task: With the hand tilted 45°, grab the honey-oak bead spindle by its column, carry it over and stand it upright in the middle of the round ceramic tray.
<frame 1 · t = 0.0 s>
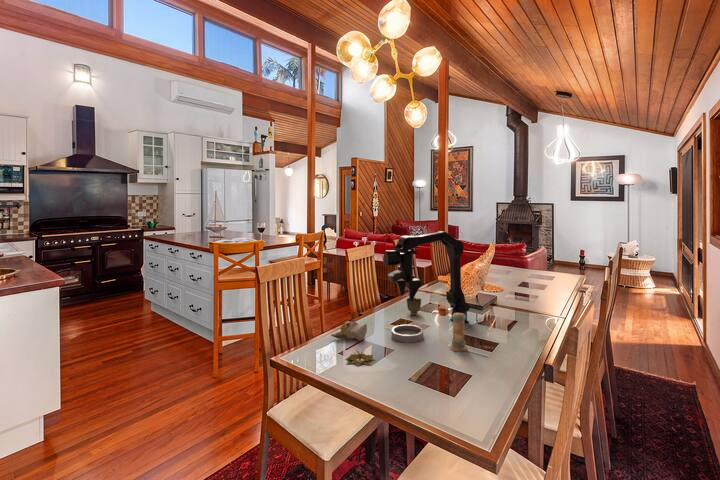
hand: (406, 298, 173), 15 cm above the table, fingers open, 9 cm apart
ceramic sculpture: (351, 338, 166), on the table
lily flower: (360, 361, 144), on the table
round tray: (407, 336, 166), on the table
bead spindle: (458, 348, 153), on the table
cup: (414, 314, 196), on the table
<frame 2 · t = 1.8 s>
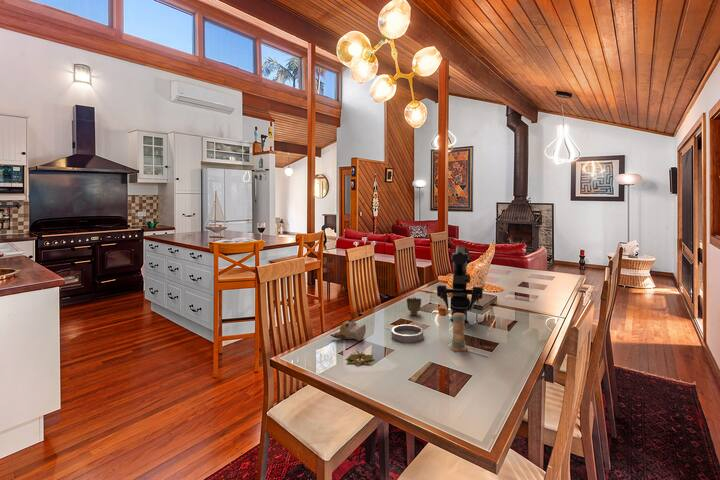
hand: (459, 309, 159), 13 cm above the table, fingers open, 9 cm apart
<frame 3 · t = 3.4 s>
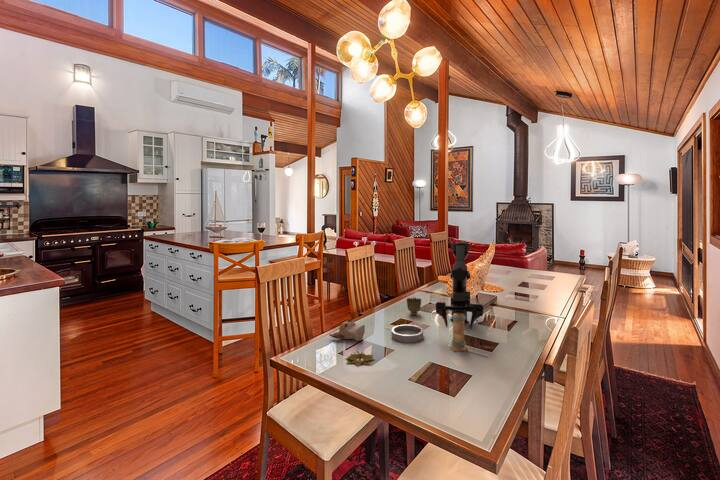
hand: (458, 328, 152), 8 cm above the table, fingers open, 9 cm apart
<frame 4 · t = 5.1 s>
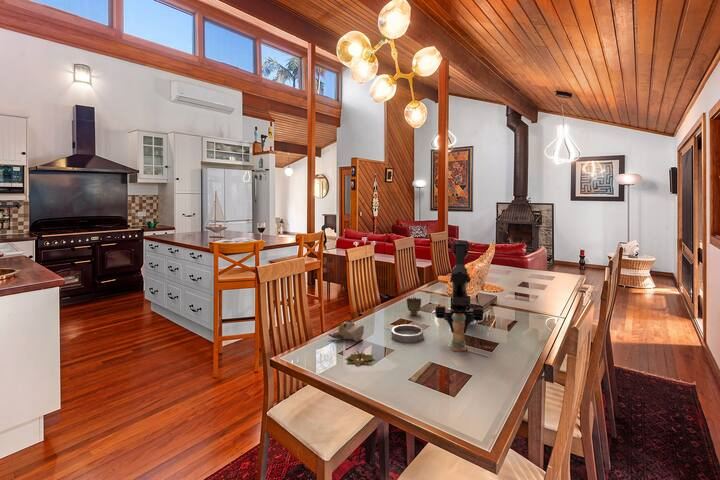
hand: (458, 332, 151), 7 cm above the table, fingers closed on bead spindle, 4 cm apart
bead spindle: (458, 348, 153), on the table, touching gripper
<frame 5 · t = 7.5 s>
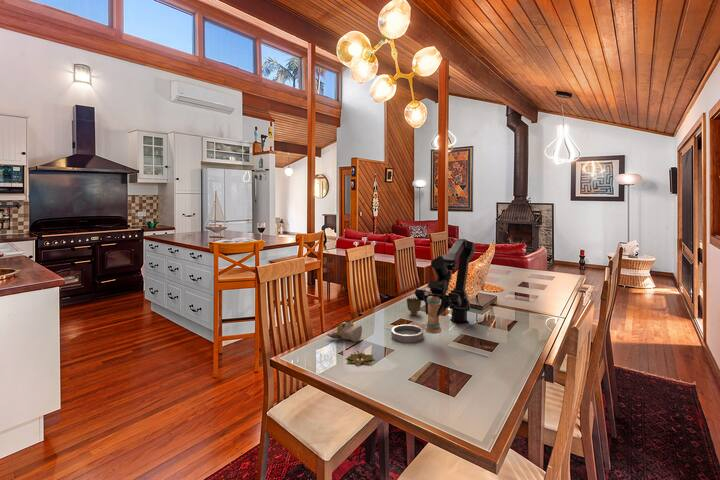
hand: (432, 315, 154), 13 cm above the table, fingers closed on bead spindle, 4 cm apart
bead spindle: (433, 330, 156), point 6 cm above the table, touching gripper
when the fingers open (9 cm above the table, at t = 10.3 s): bead spindle drops 1 cm, resting on round tray.
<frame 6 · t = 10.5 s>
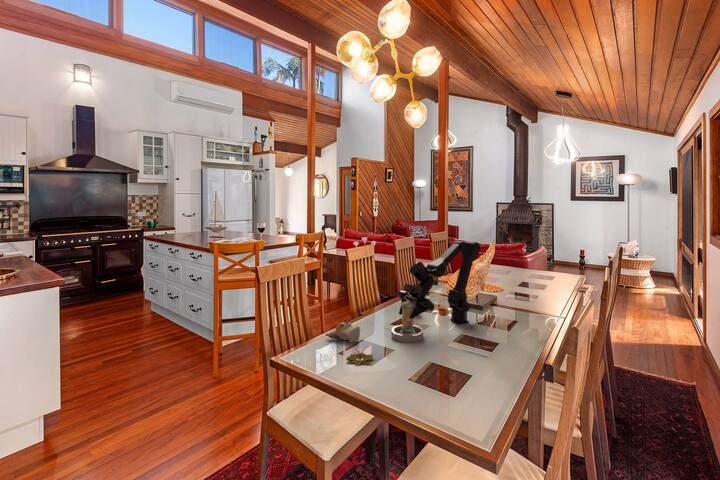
hand: (404, 316, 164), 9 cm above the table, fingers open, 7 cm apart
bead spindle: (407, 334, 166), point 1 cm above the table, touching round tray
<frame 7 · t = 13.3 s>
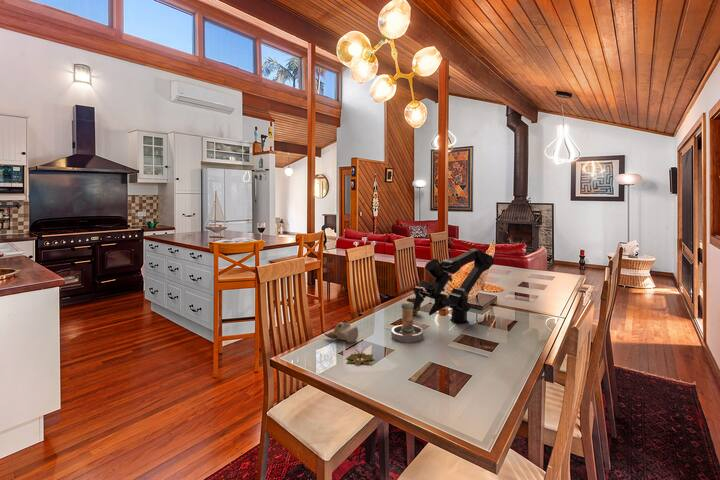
hand: (421, 311, 170), 10 cm above the table, fingers open, 9 cm apart
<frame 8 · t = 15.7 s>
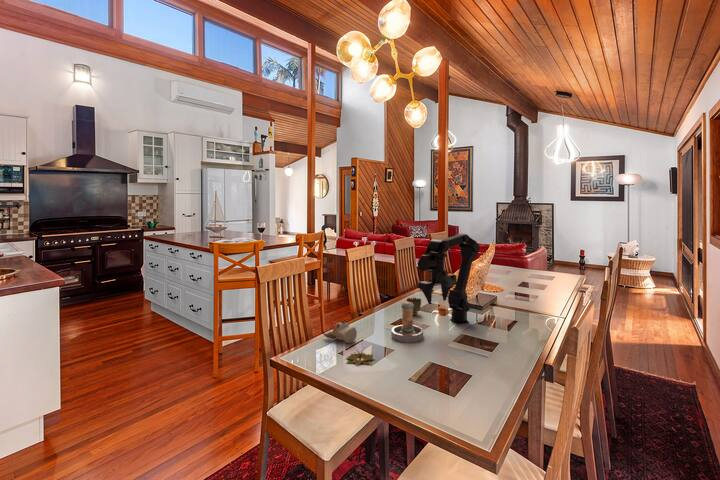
hand: (437, 302, 172), 13 cm above the table, fingers open, 9 cm apart
at the end: bead spindle inside the target area on the round tray (0.1 cm from its centre), point 1.0 cm above the round tray's base; bead spindle tilted 0°; the gripper is holding nothing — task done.
